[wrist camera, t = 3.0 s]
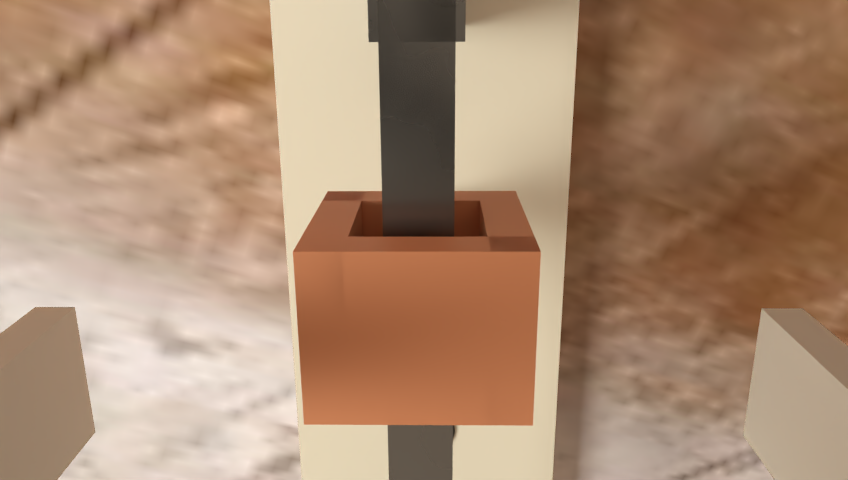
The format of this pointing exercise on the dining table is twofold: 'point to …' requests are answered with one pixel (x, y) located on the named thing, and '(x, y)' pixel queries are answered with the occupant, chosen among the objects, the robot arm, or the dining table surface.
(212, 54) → the dining table surface
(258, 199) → the dining table surface
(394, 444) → the grey slider rail frame
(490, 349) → the slider sleeve
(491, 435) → the hole board
